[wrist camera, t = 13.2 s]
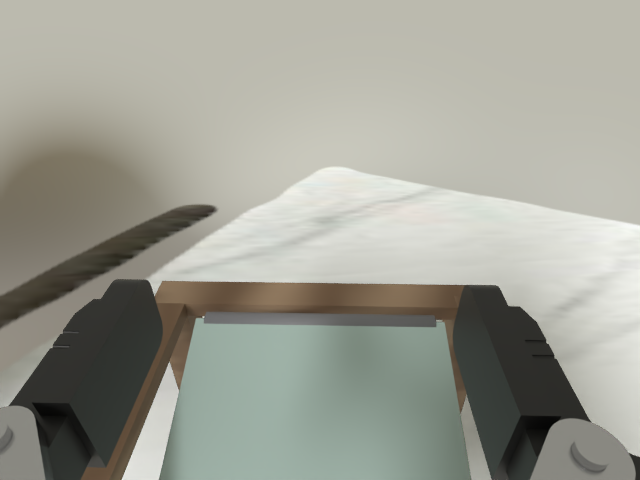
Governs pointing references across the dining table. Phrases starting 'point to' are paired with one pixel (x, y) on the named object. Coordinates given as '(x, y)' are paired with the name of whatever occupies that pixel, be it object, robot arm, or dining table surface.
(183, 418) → the trapdoor
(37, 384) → the robot arm
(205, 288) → the trapdoor frame
